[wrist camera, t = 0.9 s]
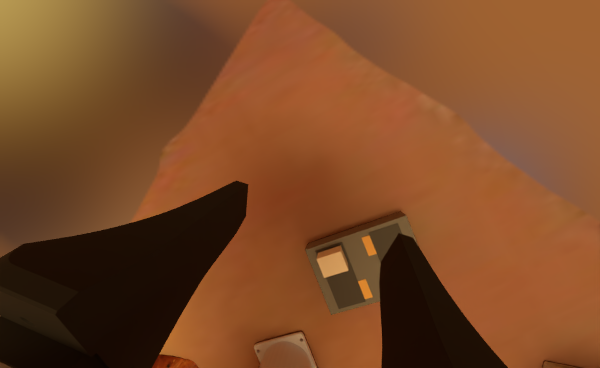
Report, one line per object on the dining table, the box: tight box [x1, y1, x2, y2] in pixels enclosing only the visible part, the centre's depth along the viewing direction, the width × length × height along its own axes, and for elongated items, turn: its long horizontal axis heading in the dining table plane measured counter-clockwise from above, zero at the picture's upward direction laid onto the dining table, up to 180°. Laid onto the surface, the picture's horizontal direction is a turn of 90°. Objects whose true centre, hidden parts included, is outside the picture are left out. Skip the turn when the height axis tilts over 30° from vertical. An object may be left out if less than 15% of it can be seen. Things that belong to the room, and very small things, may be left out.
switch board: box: [305, 212, 418, 315], centre depth 29 cm, size 9×13×3 cm
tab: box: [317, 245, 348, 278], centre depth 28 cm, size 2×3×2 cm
